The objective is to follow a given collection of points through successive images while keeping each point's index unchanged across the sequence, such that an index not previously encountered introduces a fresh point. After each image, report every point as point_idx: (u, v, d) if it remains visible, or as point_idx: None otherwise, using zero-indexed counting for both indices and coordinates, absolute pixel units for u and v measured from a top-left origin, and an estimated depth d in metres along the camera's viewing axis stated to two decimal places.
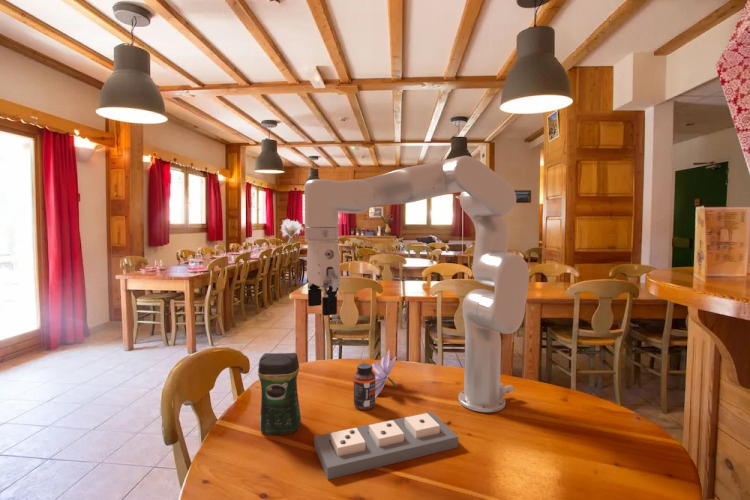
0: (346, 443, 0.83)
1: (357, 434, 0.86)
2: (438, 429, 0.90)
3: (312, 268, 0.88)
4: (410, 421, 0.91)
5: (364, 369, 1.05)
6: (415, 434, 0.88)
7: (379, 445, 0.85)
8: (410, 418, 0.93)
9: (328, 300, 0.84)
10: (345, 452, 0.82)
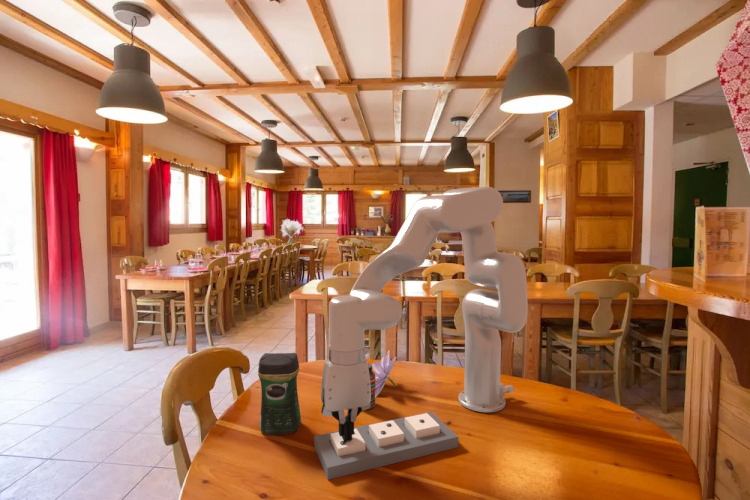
0: (346, 444, 0.83)
1: (357, 435, 0.86)
2: (438, 429, 0.90)
3: (352, 392, 0.82)
4: (410, 421, 0.91)
5: None
6: (415, 434, 0.88)
7: (379, 445, 0.85)
8: (410, 418, 0.93)
9: (353, 422, 0.84)
10: (345, 453, 0.82)
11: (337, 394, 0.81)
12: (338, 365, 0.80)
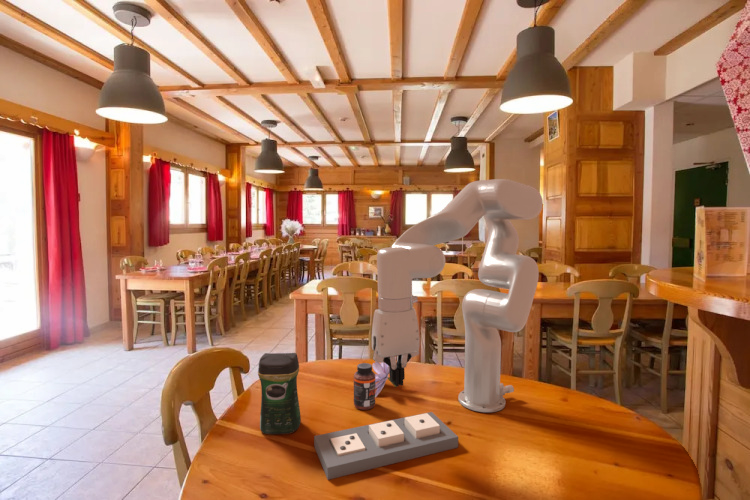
0: (346, 449, 0.83)
1: (357, 440, 0.86)
2: (438, 429, 0.90)
3: (403, 338, 0.85)
4: (410, 421, 0.91)
5: (364, 369, 1.05)
6: (415, 434, 0.88)
7: (379, 445, 0.85)
8: (410, 418, 0.93)
9: (403, 368, 0.88)
10: None
11: (389, 340, 0.84)
12: (389, 312, 0.83)
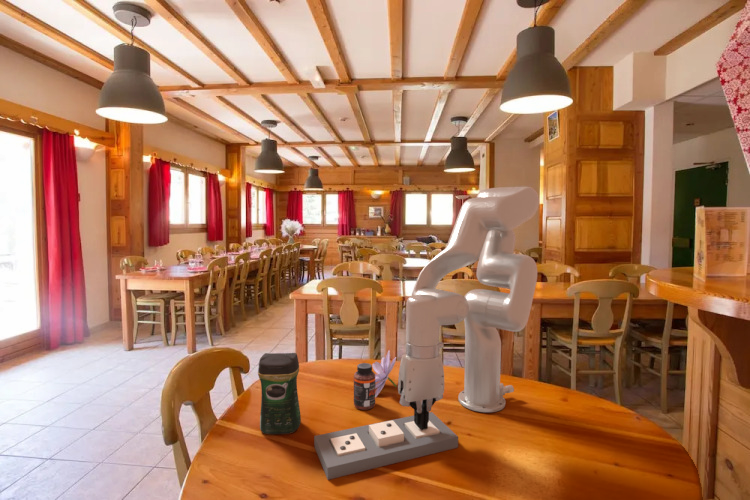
0: (346, 449, 0.83)
1: (357, 440, 0.86)
2: None
3: (429, 384, 0.88)
4: (410, 426, 0.92)
5: (364, 369, 1.05)
6: None
7: (379, 445, 0.85)
8: (410, 423, 0.93)
9: (428, 412, 0.91)
10: None
11: (416, 386, 0.87)
12: (418, 358, 0.86)
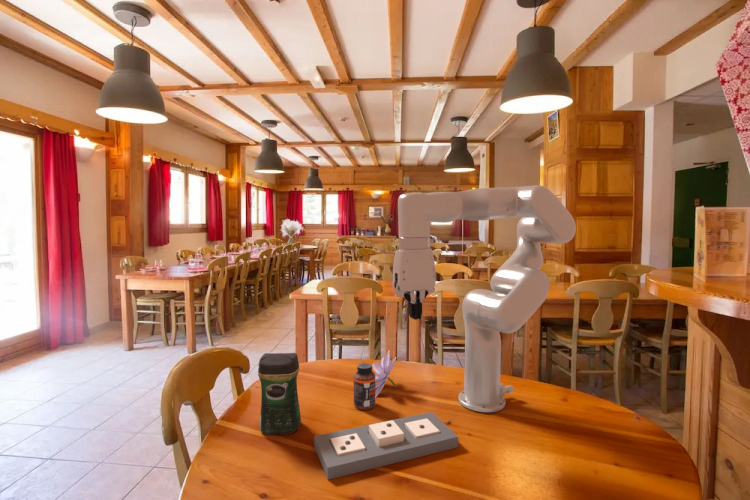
0: (346, 449, 0.83)
1: (357, 440, 0.86)
2: None
3: (421, 275, 0.94)
4: (410, 426, 0.92)
5: (364, 369, 1.05)
6: None
7: (379, 445, 0.85)
8: (410, 423, 0.93)
9: (421, 304, 0.97)
10: None
11: (409, 276, 0.93)
12: (410, 249, 0.92)
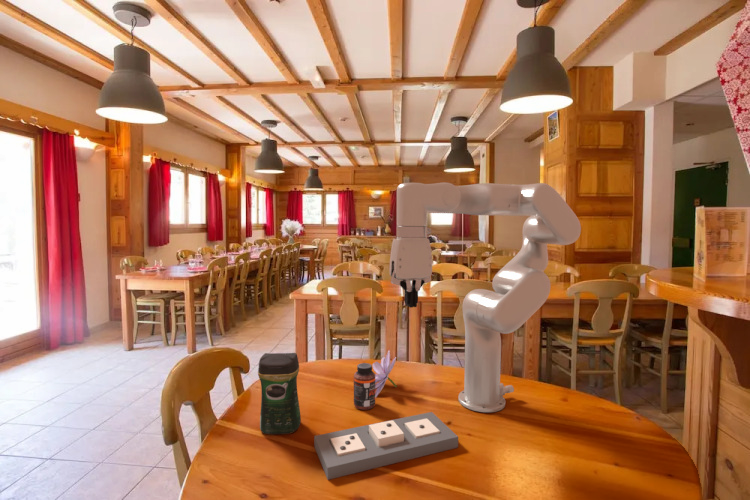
0: (346, 449, 0.83)
1: (357, 440, 0.86)
2: None
3: (418, 263, 0.96)
4: (410, 426, 0.92)
5: (364, 369, 1.05)
6: None
7: (379, 445, 0.85)
8: (410, 423, 0.93)
9: (417, 293, 0.99)
10: None
11: (405, 264, 0.95)
12: (407, 237, 0.94)
